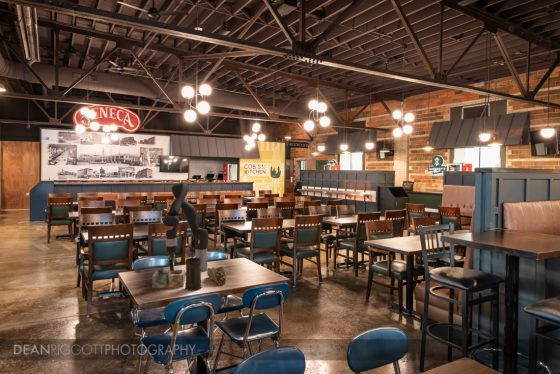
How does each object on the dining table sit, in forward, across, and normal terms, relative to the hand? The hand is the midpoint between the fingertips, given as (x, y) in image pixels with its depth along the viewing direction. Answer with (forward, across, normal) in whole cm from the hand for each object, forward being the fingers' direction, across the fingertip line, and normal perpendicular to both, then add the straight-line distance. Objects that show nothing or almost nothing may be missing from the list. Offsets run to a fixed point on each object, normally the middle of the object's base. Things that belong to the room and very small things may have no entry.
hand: (171, 269), depth 256 cm
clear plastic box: (+10, 0, +2) cm, 11 cm away
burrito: (+11, +4, -30) cm, 32 cm away
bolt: (+2, 0, +3) cm, 4 cm away
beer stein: (+11, -14, -15) cm, 23 cm away
